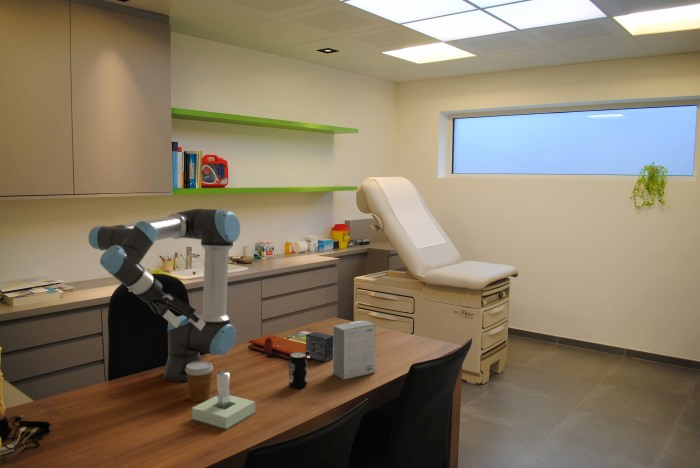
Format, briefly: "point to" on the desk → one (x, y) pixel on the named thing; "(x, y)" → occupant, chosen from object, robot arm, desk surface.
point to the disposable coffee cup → (199, 380)
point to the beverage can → (298, 370)
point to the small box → (319, 346)
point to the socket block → (223, 412)
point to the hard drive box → (353, 349)
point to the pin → (223, 389)
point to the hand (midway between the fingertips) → (190, 325)
